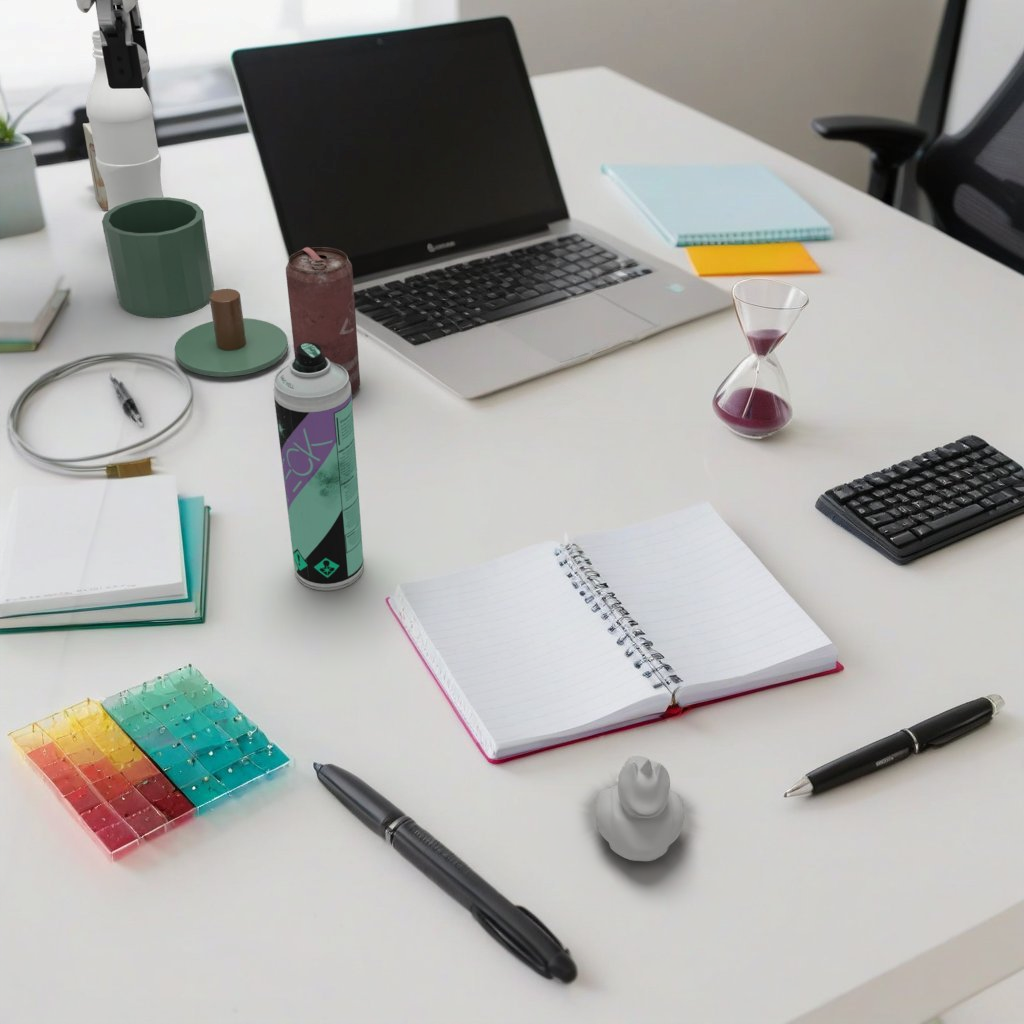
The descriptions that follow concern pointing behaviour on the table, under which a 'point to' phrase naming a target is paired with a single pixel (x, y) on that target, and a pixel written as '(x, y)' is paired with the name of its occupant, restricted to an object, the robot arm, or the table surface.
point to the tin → (159, 256)
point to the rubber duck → (640, 811)
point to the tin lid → (230, 341)
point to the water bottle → (123, 137)
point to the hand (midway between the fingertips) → (129, 78)
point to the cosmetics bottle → (95, 169)
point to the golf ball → (143, 60)
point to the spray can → (319, 469)
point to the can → (324, 306)
